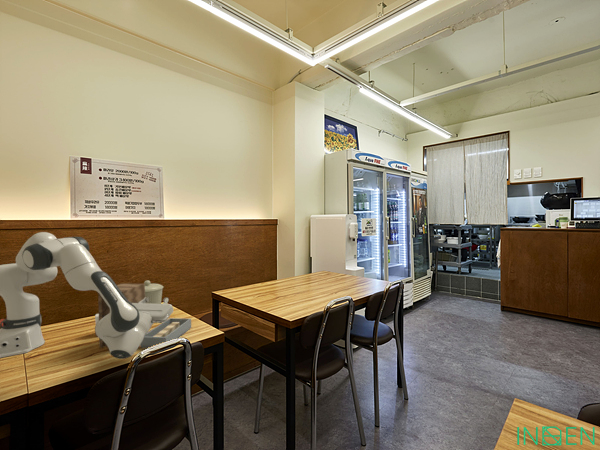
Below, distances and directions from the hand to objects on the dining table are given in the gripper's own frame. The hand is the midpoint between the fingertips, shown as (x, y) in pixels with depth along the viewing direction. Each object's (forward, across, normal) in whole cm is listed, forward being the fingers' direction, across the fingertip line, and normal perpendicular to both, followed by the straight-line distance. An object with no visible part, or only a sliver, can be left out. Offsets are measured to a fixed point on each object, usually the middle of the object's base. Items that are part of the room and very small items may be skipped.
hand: (157, 298), depth 138 cm
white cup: (-1, +35, +25) cm, 43 cm away
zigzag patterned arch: (-9, +18, +20) cm, 29 cm away
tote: (-4, -1, +23) cm, 23 cm away
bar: (-4, 0, +22) cm, 22 cm away
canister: (+25, +30, +40) cm, 56 cm away
